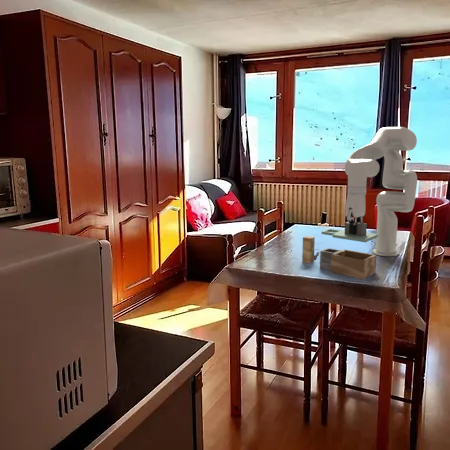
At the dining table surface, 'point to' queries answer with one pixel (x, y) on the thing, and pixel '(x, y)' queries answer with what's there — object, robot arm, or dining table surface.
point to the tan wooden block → (308, 249)
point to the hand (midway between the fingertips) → (355, 232)
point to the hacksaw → (316, 255)
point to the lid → (345, 234)
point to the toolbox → (348, 262)
